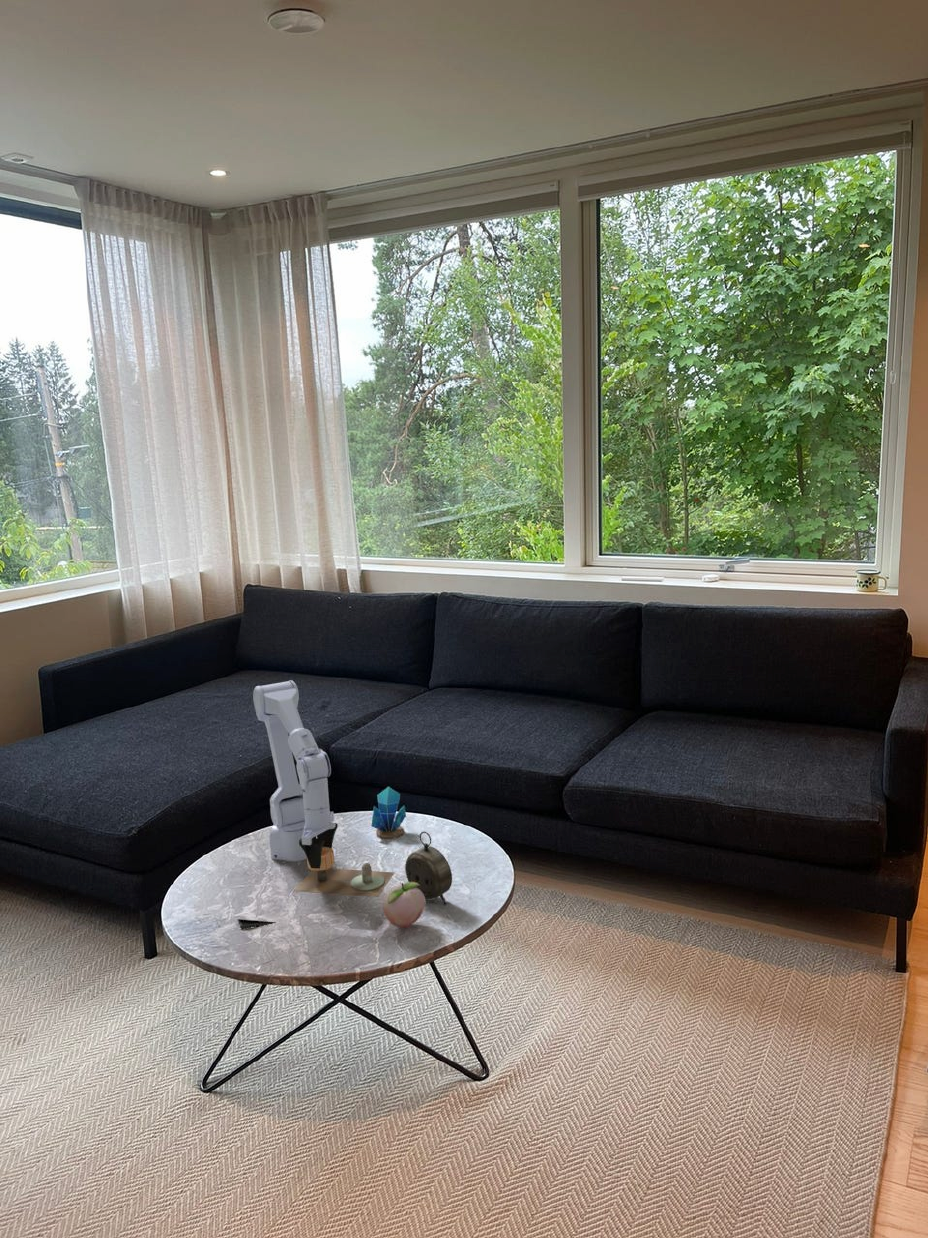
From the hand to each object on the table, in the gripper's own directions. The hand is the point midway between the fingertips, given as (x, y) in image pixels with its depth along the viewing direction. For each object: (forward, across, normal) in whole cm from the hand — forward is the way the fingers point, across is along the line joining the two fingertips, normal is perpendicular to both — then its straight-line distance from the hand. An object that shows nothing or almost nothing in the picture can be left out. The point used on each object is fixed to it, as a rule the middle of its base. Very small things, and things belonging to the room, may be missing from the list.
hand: (320, 861), depth 218 cm
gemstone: (+6, +30, -7) cm, 31 cm away
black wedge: (+6, -14, +10) cm, 19 cm away
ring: (+1, 0, 0) cm, 1 cm away
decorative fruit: (+6, -16, -25) cm, 30 cm away
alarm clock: (+6, -4, -27) cm, 28 cm away
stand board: (+6, 0, -6) cm, 8 cm away
